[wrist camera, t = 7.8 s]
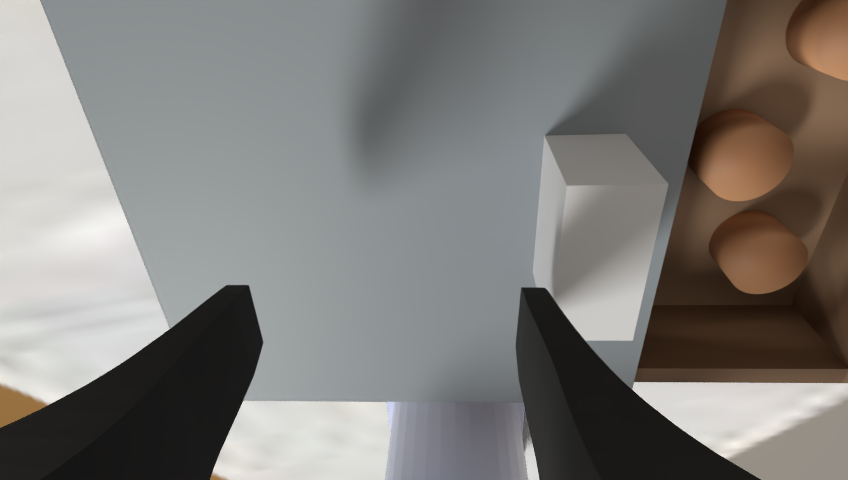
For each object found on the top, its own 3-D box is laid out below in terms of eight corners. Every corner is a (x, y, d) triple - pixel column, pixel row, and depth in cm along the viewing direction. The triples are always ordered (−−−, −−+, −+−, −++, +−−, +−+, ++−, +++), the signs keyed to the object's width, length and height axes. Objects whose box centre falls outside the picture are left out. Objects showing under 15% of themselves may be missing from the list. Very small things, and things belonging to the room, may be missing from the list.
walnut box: (793, 307, 26) (861, 383, 21) (435, 308, 27) (432, 380, 22) (983, -137, 16) (1174, -160, 12) (419, -107, 17) (409, -119, 13)
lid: (622, 386, 22) (657, 481, 18) (206, 384, 23) (158, 473, 19) (744, -148, 12) (873, -180, 9) (23, -107, 13) (-142, -121, 10)
